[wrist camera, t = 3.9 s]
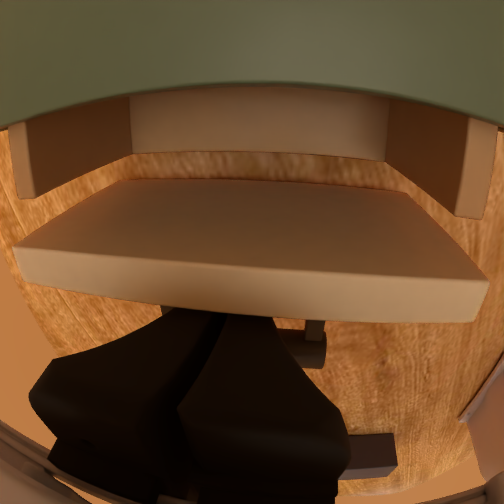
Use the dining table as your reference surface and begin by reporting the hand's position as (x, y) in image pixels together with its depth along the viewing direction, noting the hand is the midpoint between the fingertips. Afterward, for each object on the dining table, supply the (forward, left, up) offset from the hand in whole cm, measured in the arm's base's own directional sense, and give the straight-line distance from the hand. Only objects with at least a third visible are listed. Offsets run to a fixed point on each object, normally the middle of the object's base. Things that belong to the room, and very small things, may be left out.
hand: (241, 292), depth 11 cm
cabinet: (+14, 0, -4) cm, 14 cm away
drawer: (+6, 0, -3) cm, 7 cm away
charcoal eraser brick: (-18, -8, -4) cm, 20 cm away
